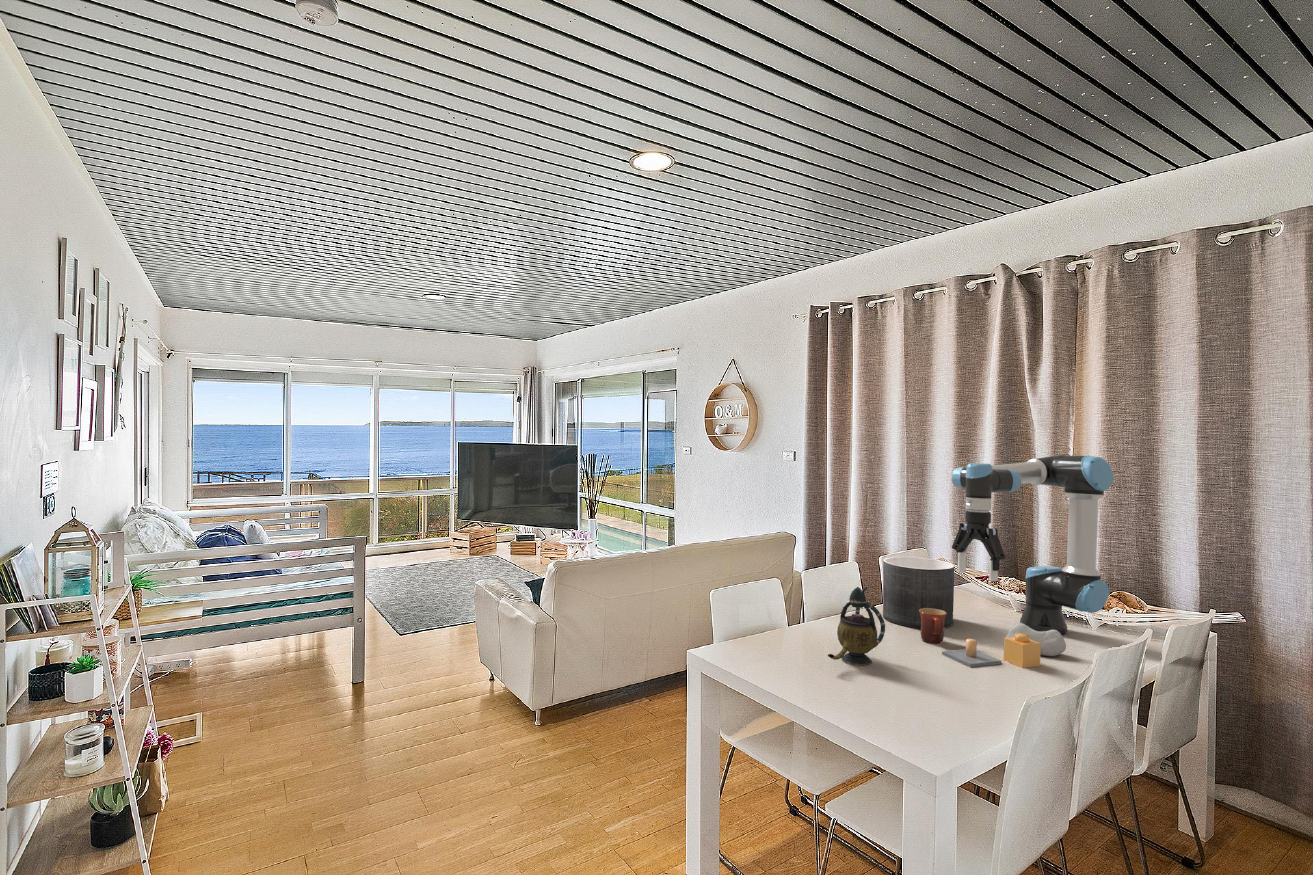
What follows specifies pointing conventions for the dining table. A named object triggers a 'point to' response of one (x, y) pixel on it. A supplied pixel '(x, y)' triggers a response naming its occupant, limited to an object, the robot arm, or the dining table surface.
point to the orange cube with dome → (1022, 651)
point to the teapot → (858, 631)
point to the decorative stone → (1041, 639)
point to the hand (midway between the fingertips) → (976, 576)
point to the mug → (932, 625)
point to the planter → (916, 589)
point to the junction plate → (971, 660)
